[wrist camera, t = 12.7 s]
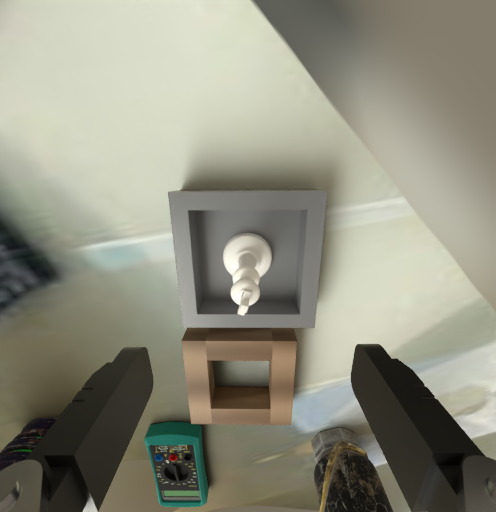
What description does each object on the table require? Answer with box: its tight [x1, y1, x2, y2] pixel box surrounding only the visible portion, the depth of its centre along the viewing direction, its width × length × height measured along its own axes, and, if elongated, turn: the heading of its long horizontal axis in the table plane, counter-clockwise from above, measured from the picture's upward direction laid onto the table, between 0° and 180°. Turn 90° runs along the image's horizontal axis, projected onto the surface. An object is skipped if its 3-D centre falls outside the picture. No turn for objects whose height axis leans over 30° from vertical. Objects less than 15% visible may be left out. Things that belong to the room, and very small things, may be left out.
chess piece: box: [223, 233, 272, 316], centre depth 18 cm, size 5×5×10 cm
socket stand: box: [182, 328, 297, 425], centre depth 27 cm, size 12×12×3 cm
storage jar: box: [0, 417, 58, 471], centre depth 26 cm, size 10×10×15 cm
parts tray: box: [168, 189, 328, 328], centre depth 22 cm, size 13×13×4 cm
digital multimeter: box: [144, 422, 209, 507], centre depth 33 cm, size 7×15×3 cm, turn 1°
